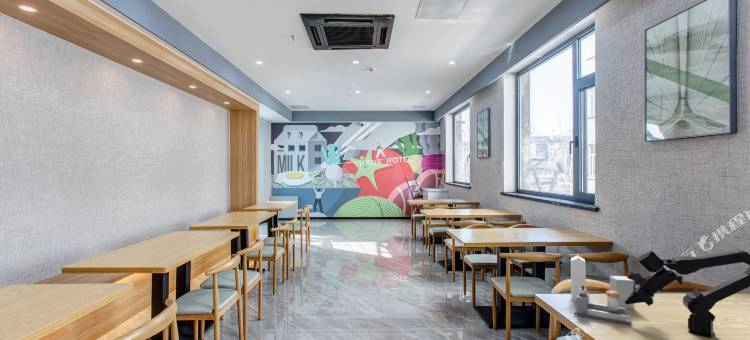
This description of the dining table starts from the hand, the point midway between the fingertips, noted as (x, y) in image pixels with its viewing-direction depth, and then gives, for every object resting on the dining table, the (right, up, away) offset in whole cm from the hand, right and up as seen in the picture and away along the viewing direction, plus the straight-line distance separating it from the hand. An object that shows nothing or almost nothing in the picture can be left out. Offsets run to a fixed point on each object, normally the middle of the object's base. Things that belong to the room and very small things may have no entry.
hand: (625, 303), depth 152 cm
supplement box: (+10, -7, +18) cm, 22 cm away
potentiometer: (-13, +1, +8) cm, 15 cm away
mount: (-7, -7, +5) cm, 11 cm away
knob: (-3, -6, +2) cm, 7 cm away
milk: (-5, -8, +26) cm, 28 cm away
